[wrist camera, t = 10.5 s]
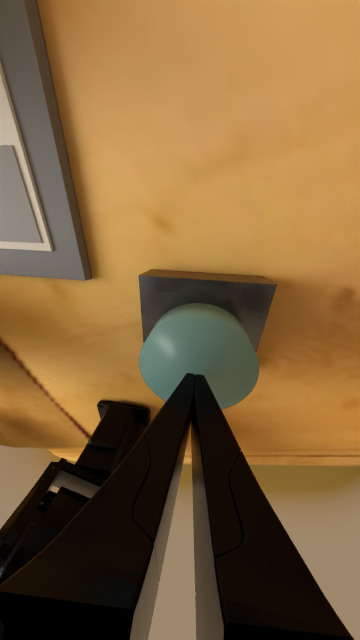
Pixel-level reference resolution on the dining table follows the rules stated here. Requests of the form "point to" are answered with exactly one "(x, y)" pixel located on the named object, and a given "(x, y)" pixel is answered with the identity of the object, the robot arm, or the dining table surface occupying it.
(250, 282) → the button housing
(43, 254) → the drawing board
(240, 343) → the button
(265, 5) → the dining table surface
